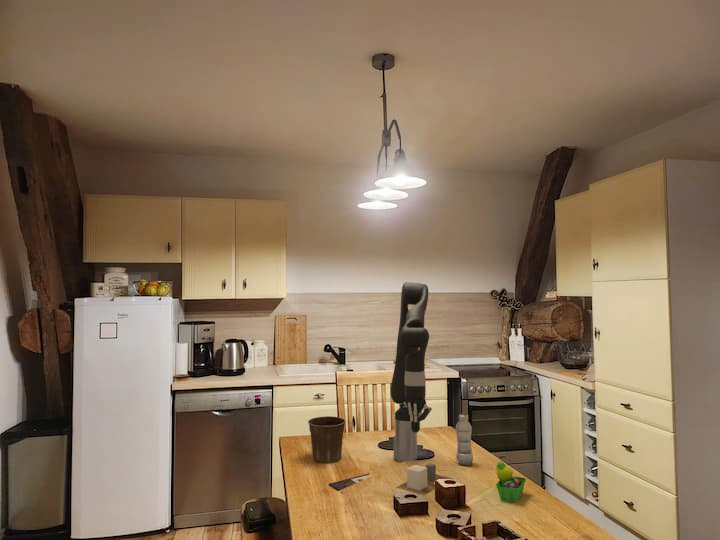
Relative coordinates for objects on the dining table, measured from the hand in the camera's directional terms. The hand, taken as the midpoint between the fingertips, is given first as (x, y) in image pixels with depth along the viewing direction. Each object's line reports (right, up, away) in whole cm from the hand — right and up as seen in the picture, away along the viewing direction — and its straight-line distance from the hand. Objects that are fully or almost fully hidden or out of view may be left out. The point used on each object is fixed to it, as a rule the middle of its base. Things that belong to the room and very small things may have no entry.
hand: (415, 431), depth 183 cm
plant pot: (-34, -23, +36) cm, 54 cm away
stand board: (+4, -21, +3) cm, 21 cm away
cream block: (0, -19, -1) cm, 19 cm away
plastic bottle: (+23, -22, +26) cm, 41 cm away
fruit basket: (+32, -20, -7) cm, 38 cm away
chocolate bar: (-22, -22, +7) cm, 32 cm away
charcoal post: (+6, -20, +6) cm, 22 cm away
